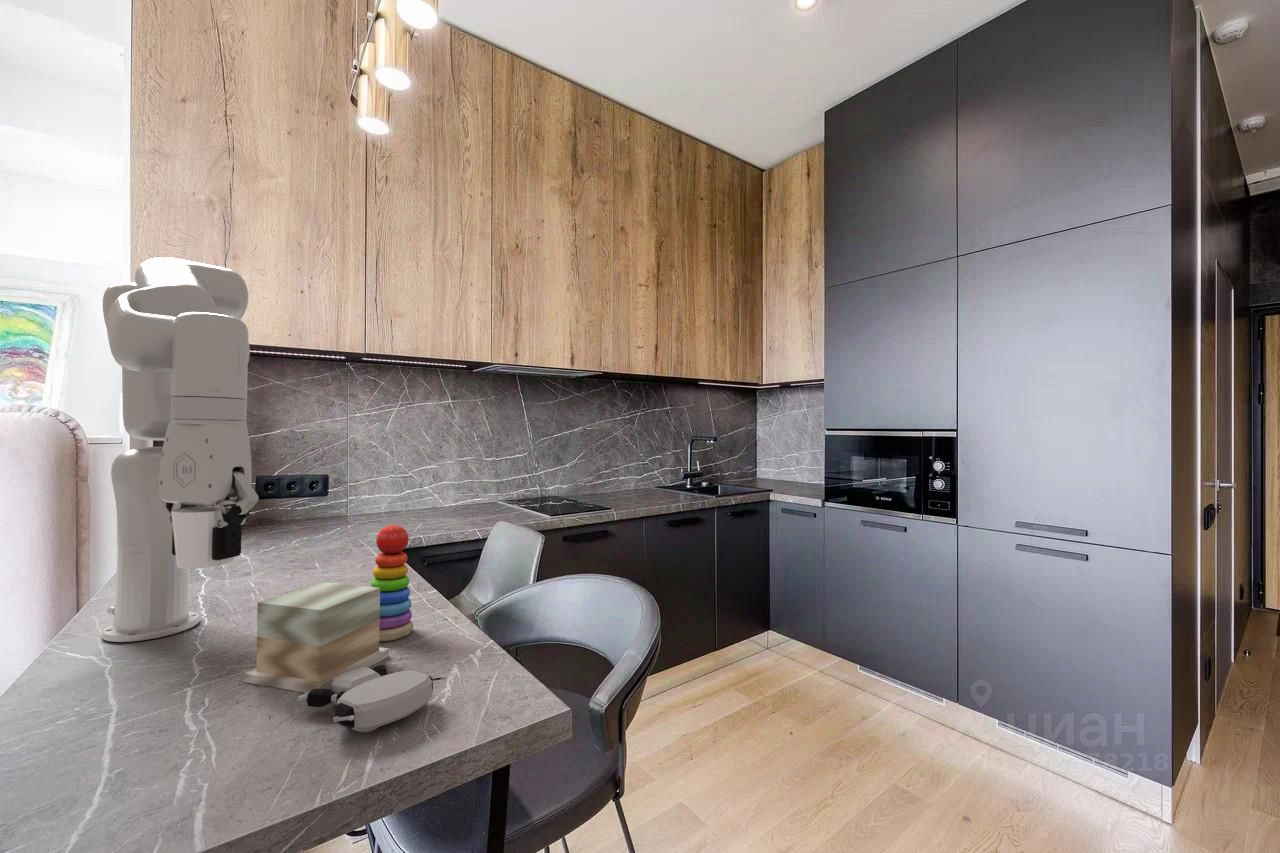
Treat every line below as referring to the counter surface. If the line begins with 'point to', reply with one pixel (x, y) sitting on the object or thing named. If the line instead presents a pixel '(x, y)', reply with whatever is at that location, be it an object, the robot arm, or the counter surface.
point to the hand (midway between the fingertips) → (206, 554)
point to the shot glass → (195, 537)
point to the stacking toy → (393, 583)
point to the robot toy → (373, 696)
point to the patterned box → (316, 636)
